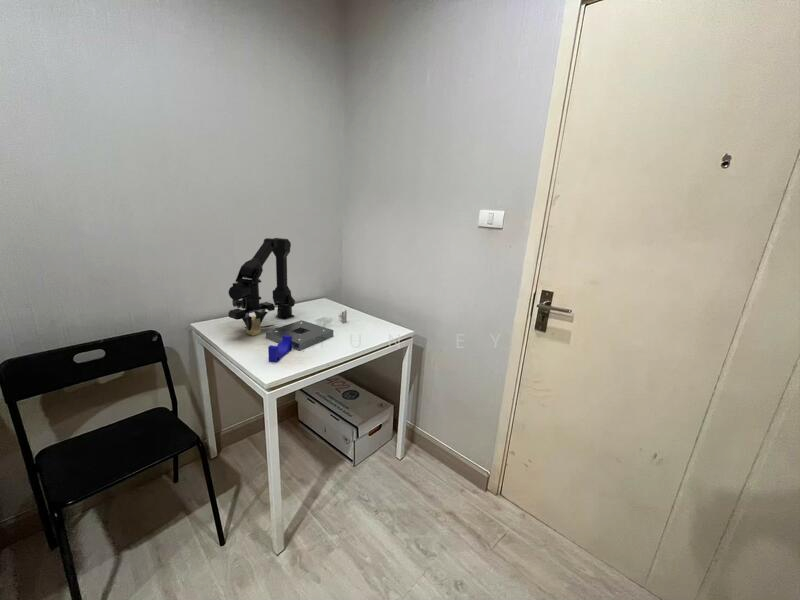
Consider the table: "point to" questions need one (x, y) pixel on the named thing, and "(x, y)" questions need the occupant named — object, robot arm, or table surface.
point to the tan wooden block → (254, 326)
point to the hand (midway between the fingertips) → (253, 328)
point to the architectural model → (343, 316)
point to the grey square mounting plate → (300, 334)
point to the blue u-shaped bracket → (280, 349)
